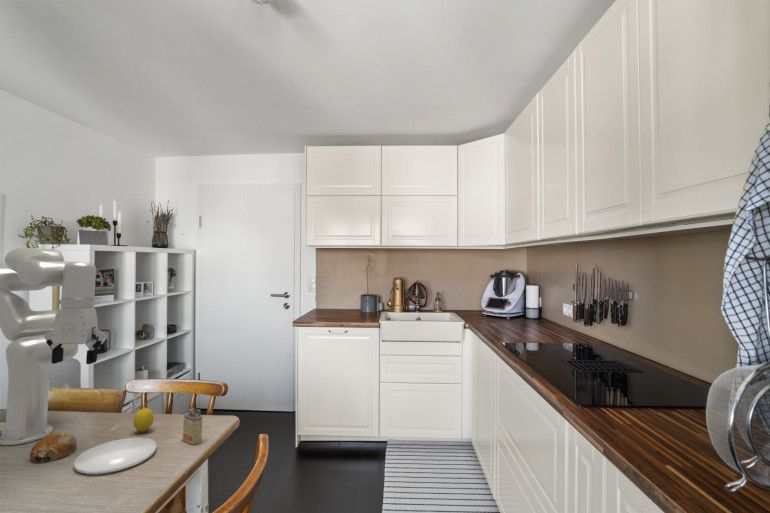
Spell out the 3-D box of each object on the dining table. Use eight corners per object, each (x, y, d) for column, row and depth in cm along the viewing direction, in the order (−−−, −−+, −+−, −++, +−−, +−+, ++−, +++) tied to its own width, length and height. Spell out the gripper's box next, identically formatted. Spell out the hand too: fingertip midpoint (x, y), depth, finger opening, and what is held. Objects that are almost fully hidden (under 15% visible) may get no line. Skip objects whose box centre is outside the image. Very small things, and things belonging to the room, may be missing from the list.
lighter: (180, 440, 117) (181, 408, 118) (191, 435, 121) (193, 404, 121) (193, 446, 114) (194, 413, 114) (204, 441, 117) (206, 409, 117)
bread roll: (77, 465, 108) (91, 435, 111) (39, 465, 99) (56, 433, 103) (55, 459, 111) (69, 430, 115) (17, 458, 103) (33, 427, 106)
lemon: (143, 436, 119) (144, 411, 119) (128, 434, 120) (130, 409, 121) (156, 429, 125) (158, 405, 125) (143, 427, 126) (144, 403, 126)
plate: (54, 476, 96) (54, 470, 96) (106, 442, 115) (107, 437, 115) (129, 476, 96) (129, 470, 96) (169, 442, 115) (169, 437, 115)
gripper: (35, 304, 105) (32, 365, 104) (98, 306, 105) (95, 366, 105) (58, 302, 112) (54, 359, 111) (116, 303, 113) (113, 360, 112)
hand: (74, 362), depth 108 cm, fingers open, 9 cm apart
